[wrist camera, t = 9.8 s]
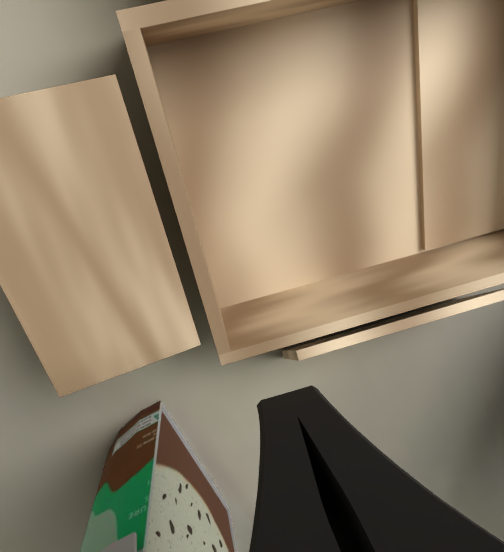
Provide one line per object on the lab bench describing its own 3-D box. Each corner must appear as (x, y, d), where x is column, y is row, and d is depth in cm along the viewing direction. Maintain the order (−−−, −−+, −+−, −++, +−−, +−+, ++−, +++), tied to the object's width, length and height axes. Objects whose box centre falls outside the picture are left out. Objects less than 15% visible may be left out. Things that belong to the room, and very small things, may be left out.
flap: (115, 74, 11) (-90, 116, 10) (200, 344, 15) (59, 397, 14) (114, 75, 11) (-83, 116, 10) (198, 339, 15) (60, 390, 14)
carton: (529, -53, 16) (649, -106, 12) (507, 289, 22) (580, 329, 18) (128, 33, 14) (112, 4, 10) (227, 372, 21) (241, 434, 17)
